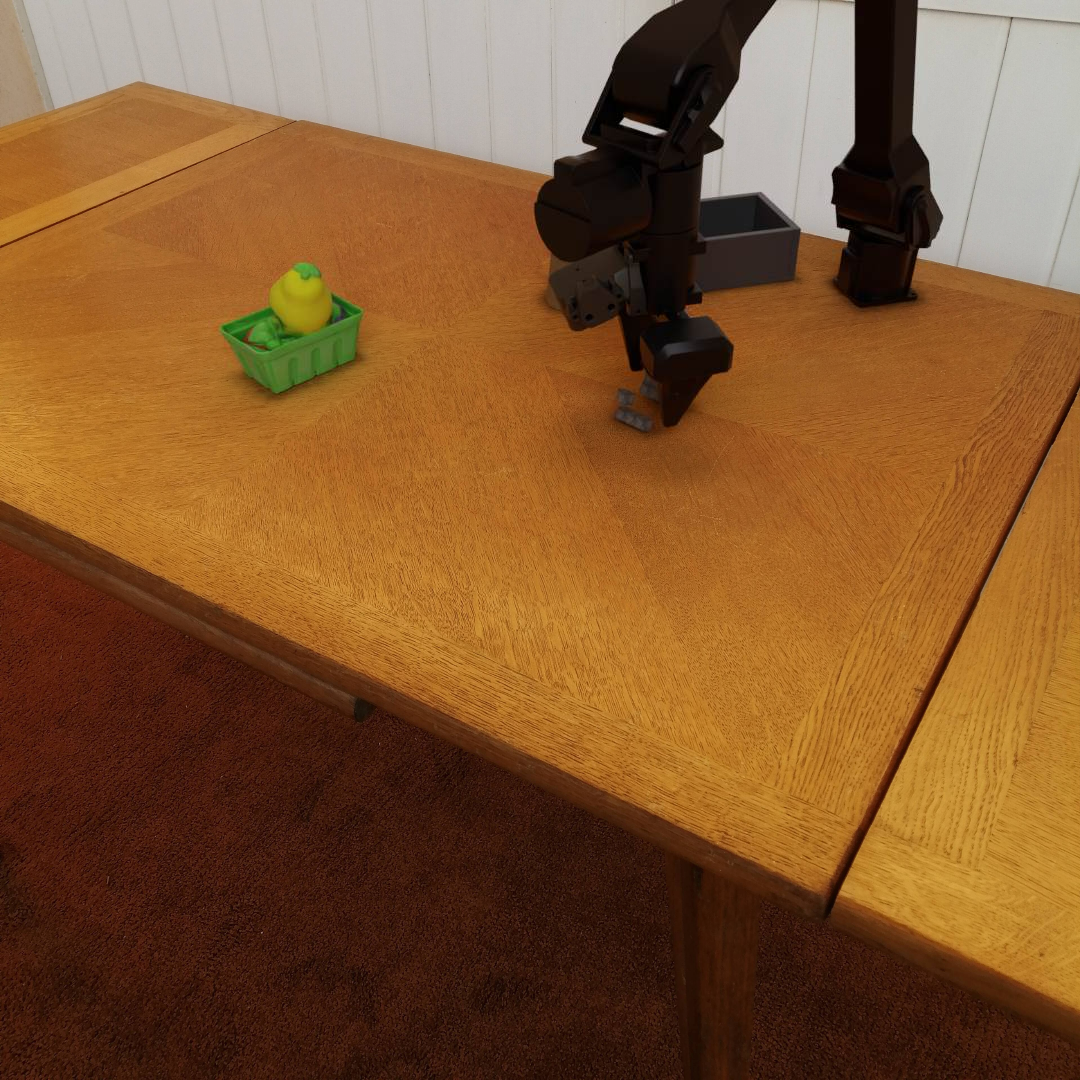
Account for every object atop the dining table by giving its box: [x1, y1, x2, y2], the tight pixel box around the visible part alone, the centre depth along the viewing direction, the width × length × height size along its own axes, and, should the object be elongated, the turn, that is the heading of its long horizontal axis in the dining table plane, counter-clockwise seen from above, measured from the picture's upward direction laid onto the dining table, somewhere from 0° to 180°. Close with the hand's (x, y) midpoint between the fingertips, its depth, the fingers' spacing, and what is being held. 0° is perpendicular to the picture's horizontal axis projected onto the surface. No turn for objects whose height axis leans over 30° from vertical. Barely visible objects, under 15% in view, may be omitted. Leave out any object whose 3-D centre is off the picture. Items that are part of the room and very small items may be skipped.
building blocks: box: [614, 372, 659, 432], centre depth 85 cm, size 3×6×8 cm
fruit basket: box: [219, 261, 364, 395], centre depth 91 cm, size 11×9×11 cm
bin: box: [695, 191, 802, 293], centre depth 107 cm, size 15×11×6 cm
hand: (652, 397), depth 86 cm, fingers open, 9 cm apart
